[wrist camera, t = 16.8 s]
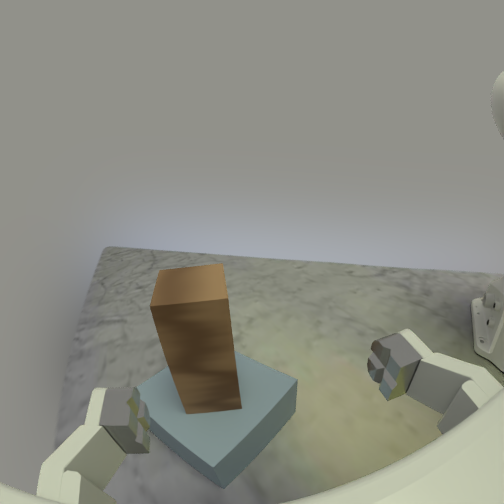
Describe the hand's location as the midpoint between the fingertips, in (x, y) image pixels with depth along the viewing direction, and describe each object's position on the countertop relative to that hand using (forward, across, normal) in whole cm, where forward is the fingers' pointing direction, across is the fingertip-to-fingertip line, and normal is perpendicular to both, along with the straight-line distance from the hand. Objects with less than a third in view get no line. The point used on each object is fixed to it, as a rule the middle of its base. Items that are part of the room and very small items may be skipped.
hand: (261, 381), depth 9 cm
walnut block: (+12, +3, +14) cm, 19 cm away
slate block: (+12, +3, +20) cm, 24 cm away
